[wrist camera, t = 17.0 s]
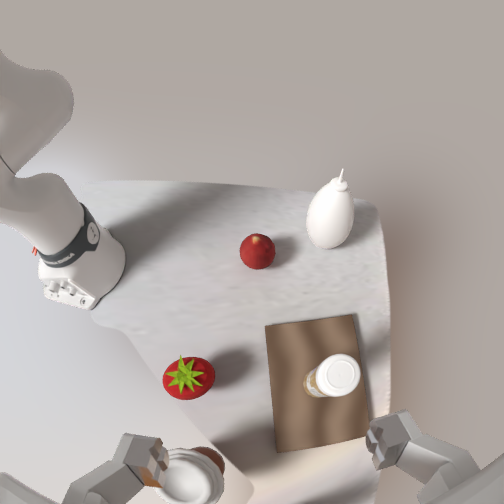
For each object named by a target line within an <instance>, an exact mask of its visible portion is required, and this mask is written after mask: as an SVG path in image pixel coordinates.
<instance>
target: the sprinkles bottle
mask: <svg viewBox="0 0 504 504" xmlns="http://www.w3.org/2000/svg"><path fill="white" fill-rule="evenodd" d="M360 376H361V372H360V367H359V365H358V363H357V362H356V360H355V359H354V358H352V357H351V356H349V355H346V354H335V355H332V356H330V357H328V358H327V359H325V360H324V361H323V362H322V363H321V364H320V365H319V366H318V367H317V368H315V369H313V370H311V371H310V372H309V373H307V375H306V376H305V378H304V382H303V385H304V389H305V391H306V392H307V393H308V395H310V396H312V397H316V398H320V397H328V396H332V397H338V396H344V395H346V394H349V393H350V392H352V391H353V390H354V389H355V388H356V387H357V385H358V383H359V381H360Z"/></svg>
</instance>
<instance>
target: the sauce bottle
mask: <svg viewBox="0 0 504 504" xmlns="http://www.w3.org/2000/svg"><path fill="white" fill-rule="evenodd" d="M343 173H344V169H342V171H341V174H340V177H336V178H333V179H332V180H331V182H330V183H328V184H326V185H325V186H323V187H322V188H321V189H320V190H319V191H318V192H317V194H316V195H315V196H314V198H313V200H312V201H311V203H310V206H309V208H308V212H307V218H306V227H307V232H308V235H309V237H310V239H311V241H312V242H313V243H314V244H315V245H316V246H317V247H319V248H322V249H331V248H334V247H336V246H338V245H340V244H341V243H343V242H344V241H345V239H346V238H347V237H348V235H349V234H350V231H351V229H352V226H353V222H354V203H353V198H352V195H351V192H350V190H349V188H348V183H347V181H346V180H345V179H343Z"/></svg>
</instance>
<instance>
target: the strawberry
mask: <svg viewBox="0 0 504 504" xmlns="http://www.w3.org/2000/svg"><path fill="white" fill-rule="evenodd" d="M214 379H215V371H214V368H213V367H212V365H211V364H210V363H209V362H208V361H206V360H204V359H202V358H197V357H186V358H182V357H181V355H180V359H179V360H177V361H175V362H173V363H172V364H171V365H170V366H169V367H168V368H167V369H166V371H165V373H164V375H163V385H164V388H165V390H166V391H167V392H168V393H169V394H170V395H171V396H173V397H175V398H177V399H181V400H191V399H195V398H198V397H200V396H202V395H204V394H205V393H206V392H207V391H208V390H209V389H210V388H211V386H212V385H213V383H214Z"/></svg>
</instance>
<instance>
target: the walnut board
mask: <svg viewBox="0 0 504 504" xmlns="http://www.w3.org/2000/svg"><path fill="white" fill-rule="evenodd" d="M265 333H266V343H267V354H268V364H269V374H270V385H271V395H272V406H273V417H274V427H275V438H276V449H277V453H280V452H288V451H296V450H303V449H309V448H315V447H321V446H326V445H331V444H336V443H340V442H345V441H349V440H353V439H357V438H361V437H364V436H366V433H367V431H368V430H369V429H370V426H369V417H368V408H367V400H366V392H365V385H364V379H363V372H362V366H361V360H360V354H359V348H358V343H357V338H356V332H355V327H354V322H353V318H352V315H346V316H340V317H333V318H327V319H319V320H312V321H304V322H296V323H288V324H279V325H269V326H265ZM335 354H346V355H349V356H351V357H352V358H354V359H355V360H356V362H357V363H358V365H359V367H360V372H361V376H360V381H359V383H358V385H357V387H356V388H355V389H354V390H353V391H352V392H350V393H349V394H346V395H344V396H338V397H332V396H328V397H320V398H316V397H312V396H310V395H308V393H307V392H306V391H305V389H304V385H303V382H304V378H305V376H306V375H307V373H309V372H310V371H311V370H313V369H315V368H317V367H318V366H319V365H320V364H321V363H322V362H323V361H324V360H325V359H327V358H328V357H330V356H332V355H335Z"/></svg>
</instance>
